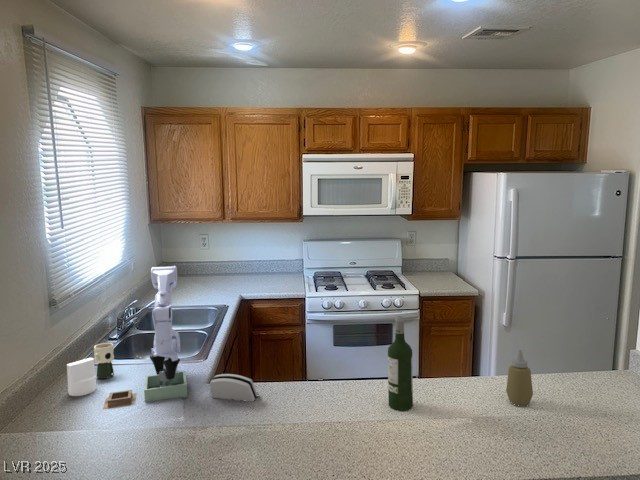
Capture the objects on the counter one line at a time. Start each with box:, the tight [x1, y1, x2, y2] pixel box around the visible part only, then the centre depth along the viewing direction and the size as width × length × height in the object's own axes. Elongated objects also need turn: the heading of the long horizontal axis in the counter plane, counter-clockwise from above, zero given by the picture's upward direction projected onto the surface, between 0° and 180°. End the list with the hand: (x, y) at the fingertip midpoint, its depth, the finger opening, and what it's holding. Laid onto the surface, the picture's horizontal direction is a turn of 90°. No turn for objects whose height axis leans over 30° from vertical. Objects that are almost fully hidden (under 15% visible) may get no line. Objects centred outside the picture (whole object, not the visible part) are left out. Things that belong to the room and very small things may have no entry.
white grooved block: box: [66, 357, 97, 397], centre depth 164 cm, size 9×9×12 cm
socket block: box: [102, 389, 138, 410], centre depth 155 cm, size 10×10×3 cm
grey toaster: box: [209, 373, 260, 402], centre depth 157 cm, size 17×5×10 cm, turn 73°
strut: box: [159, 369, 172, 387], centre depth 162 cm, size 4×4×8 cm
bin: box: [143, 370, 188, 403], centre depth 163 cm, size 14×14×5 cm
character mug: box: [93, 342, 115, 379], centre depth 180 cm, size 11×7×13 cm, turn 172°
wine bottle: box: [387, 315, 414, 412], centre depth 147 cm, size 8×8×30 cm
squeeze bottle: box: [505, 349, 534, 407], centre depth 147 cm, size 8×8×18 cm
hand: (165, 376), depth 162 cm, fingers open, 7 cm apart
